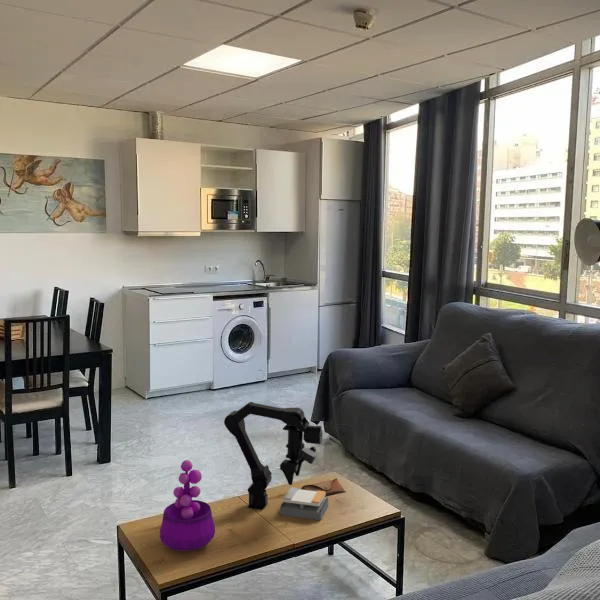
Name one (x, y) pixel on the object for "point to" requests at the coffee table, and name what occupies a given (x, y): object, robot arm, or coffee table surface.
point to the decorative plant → (187, 515)
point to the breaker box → (304, 510)
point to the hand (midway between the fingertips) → (293, 480)
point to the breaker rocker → (304, 497)
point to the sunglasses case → (326, 487)
